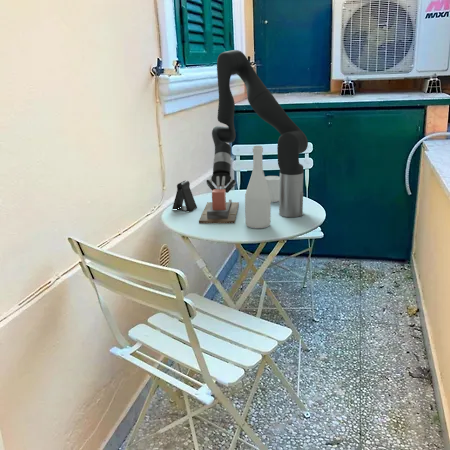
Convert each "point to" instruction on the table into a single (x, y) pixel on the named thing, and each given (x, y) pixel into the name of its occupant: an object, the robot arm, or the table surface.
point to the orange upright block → (219, 199)
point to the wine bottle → (257, 195)
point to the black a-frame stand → (184, 197)
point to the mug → (273, 187)
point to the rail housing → (220, 213)
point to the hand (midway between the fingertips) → (220, 200)
